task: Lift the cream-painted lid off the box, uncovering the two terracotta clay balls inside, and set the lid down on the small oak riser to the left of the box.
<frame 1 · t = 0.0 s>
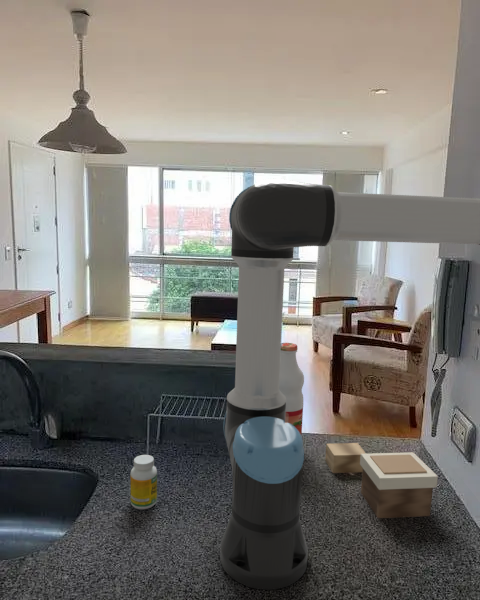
fruit juice: (282, 449, 122), on the worktop
riser: (344, 468, 112), on the worktop
lid: (396, 475, 96), point 7 cm above the worktop, touching box
supplement bottle: (143, 503, 96), on the worktop
box: (393, 506, 97), on the worktop
ball a: (384, 507, 96), point 1 cm above the worktop, touching box
ball b: (402, 499, 99), point 1 cm above the worktop, touching box
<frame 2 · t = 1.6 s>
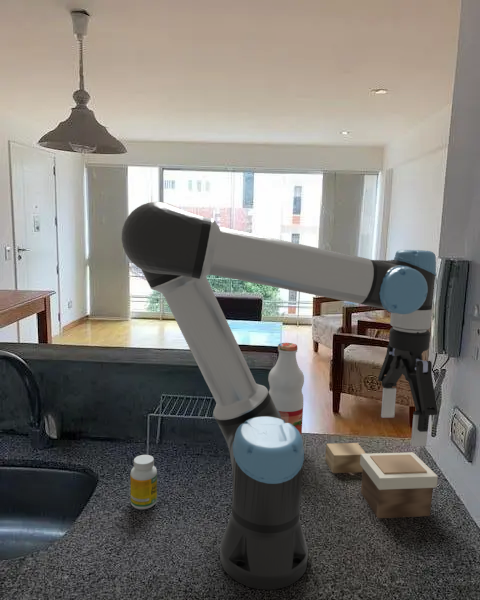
hand: (401, 430, 95), 17 cm above the worktop, fingers open, 13 cm apart
nothing on the worktop moved.
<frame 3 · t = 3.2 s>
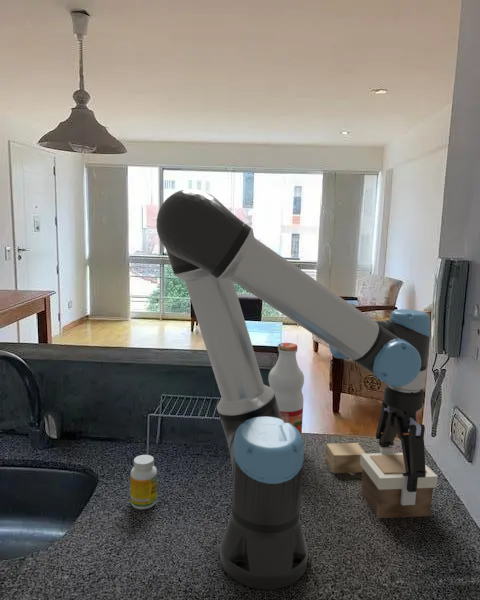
hand: (395, 489, 97), 4 cm above the worktop, fingers closed on lid, 10 cm apart
lid: (396, 475, 96), point 7 cm above the worktop, touching box, gripper
everything else where it was.
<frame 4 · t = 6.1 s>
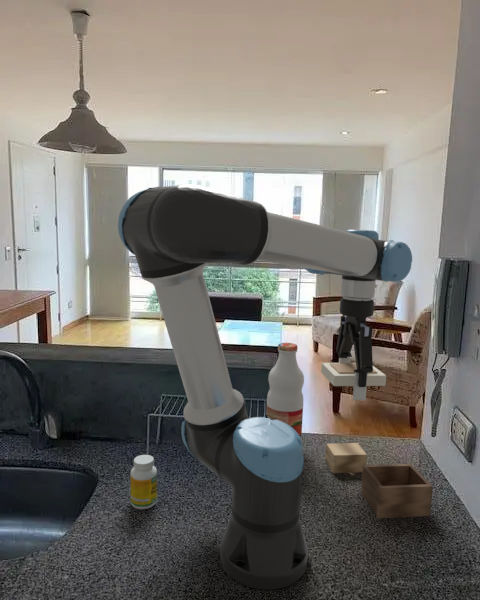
hand: (350, 391, 109), 20 cm above the worktop, fingers closed on lid, 10 cm apart
lid: (352, 378, 109), point 23 cm above the worktop, touching gripper
everything else where it was.
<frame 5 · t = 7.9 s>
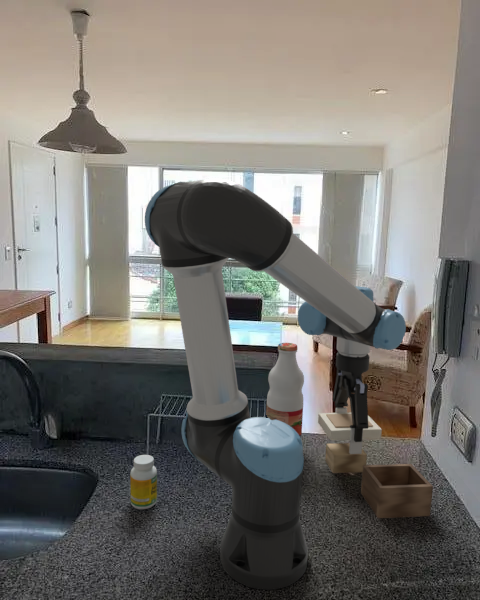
hand: (347, 442, 112), 7 cm above the worktop, fingers closed on lid, 10 cm apart
lid: (348, 430, 111), point 10 cm above the worktop, touching gripper
everything else where it was.
when the fingers open (3 cm above the worktop, at t = 9.1 s): lid drops 1 cm, resting on riser.
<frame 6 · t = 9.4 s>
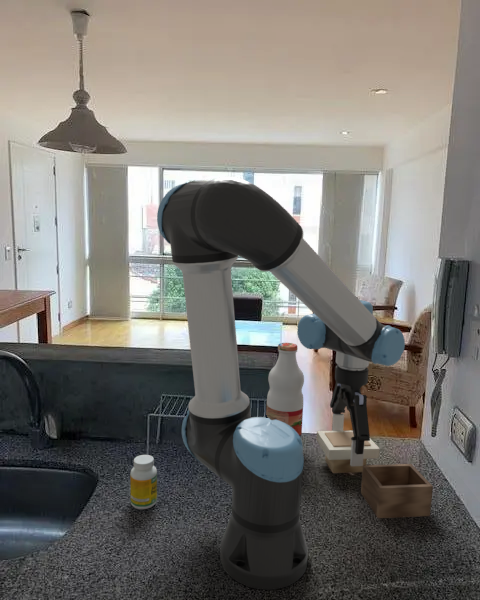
hand: (346, 451, 112), 4 cm above the worktop, fingers open, 13 cm apart
lid: (346, 449, 112), point 5 cm above the worktop, touching riser
everything else where it was.
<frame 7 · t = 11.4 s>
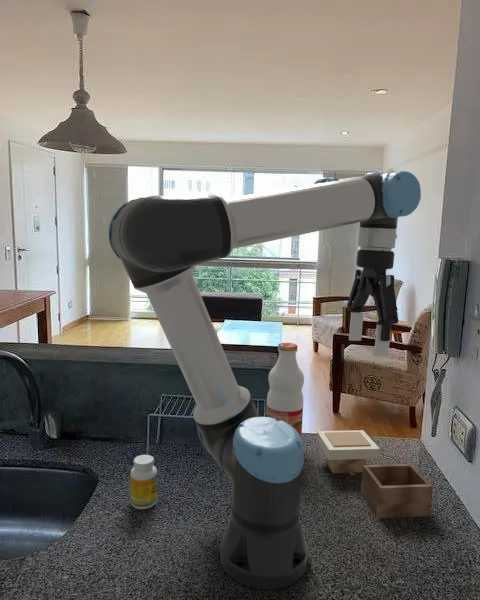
hand: (367, 347, 100), 32 cm above the worktop, fingers open, 13 cm apart
nothing on the worktop moved.
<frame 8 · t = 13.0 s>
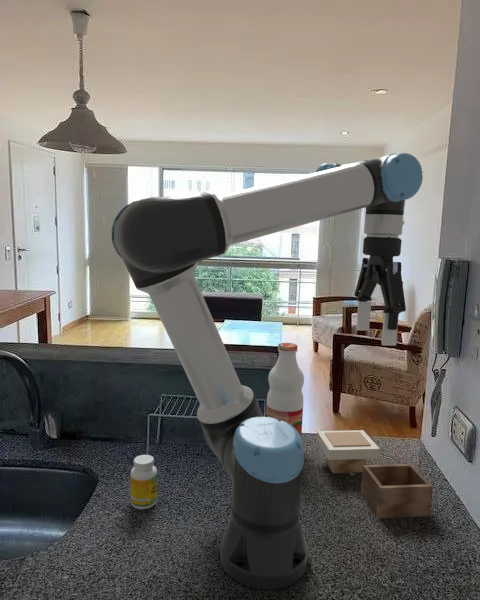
hand: (374, 337, 98), 35 cm above the worktop, fingers open, 13 cm apart
nothing on the worktop moved.
at the end: lid inside the target area on the riser (0.1 cm from its centre), point 5.0 cm above the riser's base; lid tilted 0°; lid touching riser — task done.
